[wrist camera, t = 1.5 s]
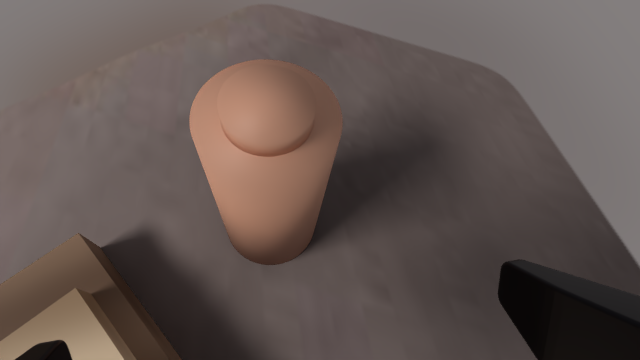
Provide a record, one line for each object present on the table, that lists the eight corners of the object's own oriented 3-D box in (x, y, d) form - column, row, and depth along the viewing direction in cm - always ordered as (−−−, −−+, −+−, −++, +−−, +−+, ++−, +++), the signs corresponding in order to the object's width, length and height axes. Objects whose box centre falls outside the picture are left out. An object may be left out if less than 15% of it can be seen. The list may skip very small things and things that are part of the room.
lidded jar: (332, 225, 22) (378, 111, 12) (265, 284, 21) (255, 206, 10) (276, 167, 24) (276, 22, 14) (208, 217, 22) (151, 91, 12)
